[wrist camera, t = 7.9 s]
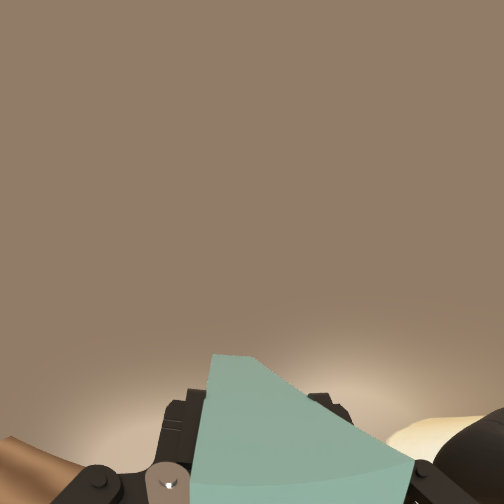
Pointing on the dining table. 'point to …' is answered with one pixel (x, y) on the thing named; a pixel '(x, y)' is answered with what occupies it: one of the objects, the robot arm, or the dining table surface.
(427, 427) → the dining table surface
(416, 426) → the dining table surface
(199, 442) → the bar
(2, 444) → the pedestal
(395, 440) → the dining table surface
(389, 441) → the dining table surface
